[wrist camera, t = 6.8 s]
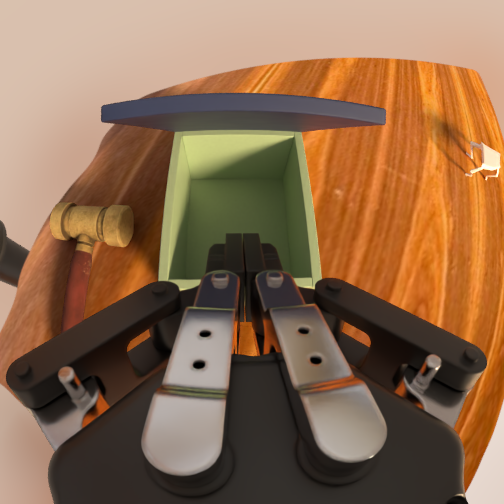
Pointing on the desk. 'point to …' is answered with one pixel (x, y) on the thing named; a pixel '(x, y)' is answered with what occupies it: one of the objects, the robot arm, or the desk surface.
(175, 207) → the box
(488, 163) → the miniature stool
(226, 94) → the lid
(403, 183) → the desk surface
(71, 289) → the gavel
